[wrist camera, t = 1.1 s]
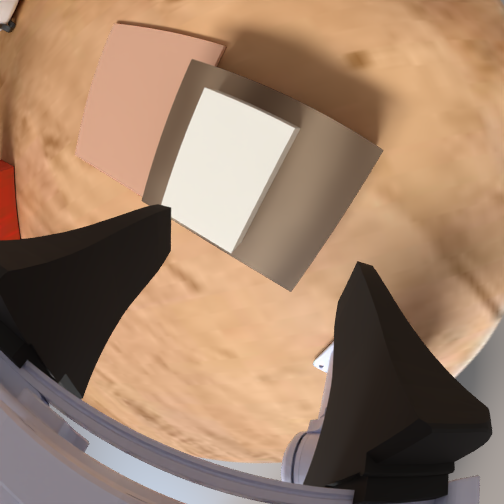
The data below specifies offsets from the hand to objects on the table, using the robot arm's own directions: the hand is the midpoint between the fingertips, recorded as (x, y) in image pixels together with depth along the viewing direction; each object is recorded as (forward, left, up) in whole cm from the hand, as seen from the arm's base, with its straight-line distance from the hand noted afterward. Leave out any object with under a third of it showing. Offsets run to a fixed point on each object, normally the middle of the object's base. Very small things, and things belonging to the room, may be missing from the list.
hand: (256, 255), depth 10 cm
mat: (+18, 0, -13) cm, 22 cm away
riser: (+4, 0, -13) cm, 13 cm away
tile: (+5, 0, -9) cm, 10 cm away
